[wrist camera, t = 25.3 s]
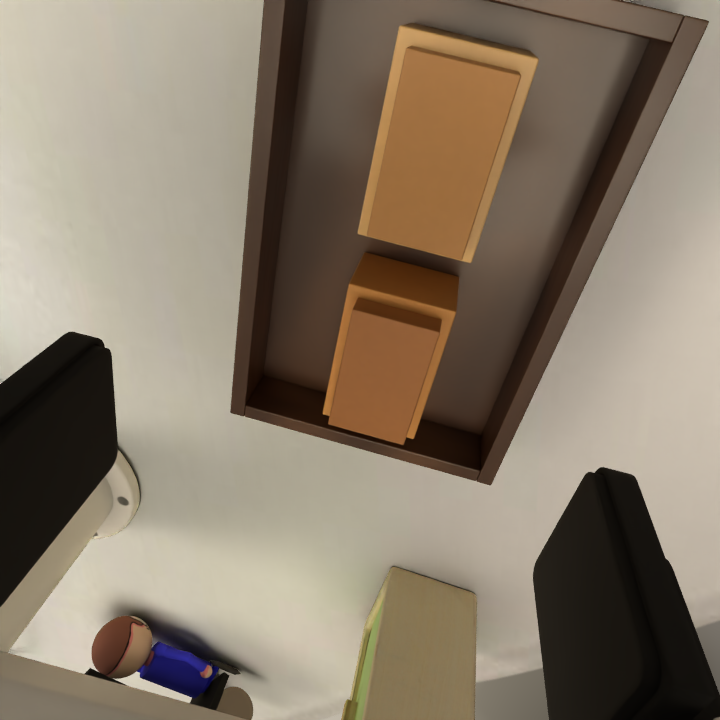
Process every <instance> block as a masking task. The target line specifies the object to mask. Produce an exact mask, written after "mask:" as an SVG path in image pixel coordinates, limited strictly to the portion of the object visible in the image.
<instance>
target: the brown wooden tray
mask: <svg viewBox="0 0 720 720" xmlns="http://www.w3.org/2000/svg"><path fill="white" fill-rule="evenodd" d="M409 23H417V24H421V25H425V26H429V27H433V28H438V29H442V30H446V31H450V32H454V33H459V34H463V35H467V36H471V37H475V38H479V39H484V40H488V41H492V42H496V43H500V44H505V45H509V46H513V47H517V48H521V49H526V50H530V51H531V52H532V53H533V54H534V55H535V56H536V57H538V58H539V62H538V65H537V68H536V71H535V74H534V77H533V80H532V83H531V86H530V89H529V92H528V95H527V98H526V101H525V104H524V107H523V110H522V113H521V116H520V119H519V122H518V125H517V128H516V131H515V134H514V137H513V140H512V143H511V146H510V149H509V152H508V155H507V158H506V161H505V164H504V167H503V170H502V173H501V176H500V179H499V182H498V185H497V188H496V191H495V194H494V197H493V200H492V203H491V206H490V209H489V212H488V215H487V218H486V221H485V224H484V227H483V230H482V233H481V236H480V239H479V242H478V245H477V248H476V251H475V254H474V257H473V260H472V262H471V263H468V262H464V261H460V260H456V259H452V258H448V257H445V256H441V255H437V254H433V253H429V252H425V251H421V250H418V249H414V248H410V247H406V246H402V245H398V244H394V243H391V242H387V241H383V240H379V239H375V238H371V237H367V236H364V235H360V234H358V228H359V223H360V218H361V213H362V208H363V203H364V198H365V193H366V189H367V184H368V179H369V174H370V169H371V164H372V159H373V154H374V149H375V144H376V139H377V134H378V129H379V124H380V119H381V114H382V109H383V104H384V99H385V94H386V89H387V84H388V79H389V74H390V69H391V64H392V59H393V54H394V49H395V44H396V40H397V35H398V30H399V26H400V25H405V24H409ZM708 23H709V21H707V20H703V19H698V18H694V17H690V16H684V15H681V14H677V13H673V12H668V11H664V10H660V9H656V8H651V7H647V6H643V5H638V4H634V3H630V2H626V1H621V0H264V8H263V20H262V32H261V45H260V57H259V69H258V81H257V94H256V106H255V118H254V130H253V142H252V155H251V167H250V179H249V191H248V204H247V216H246V228H245V240H244V253H243V265H242V277H241V289H240V301H239V314H238V326H237V338H236V350H235V363H234V375H233V387H232V399H231V411H230V412H231V413H233V414H237V415H240V416H244V415H245V417H248V418H252V419H256V420H259V421H263V422H266V423H270V424H273V425H277V426H281V427H284V428H288V429H291V430H295V431H298V432H302V433H306V434H309V435H313V436H316V437H320V438H324V439H327V440H331V441H334V442H338V443H341V444H345V445H349V446H352V447H356V448H359V449H363V450H366V451H370V452H374V453H377V454H381V455H384V456H388V457H392V458H395V459H399V460H402V461H406V462H409V463H413V464H417V465H420V466H424V467H427V468H431V469H434V470H438V471H442V472H445V473H449V474H452V475H456V476H460V477H463V478H467V479H470V480H474V481H476V480H477V482H480V483H484V484H487V485H491V484H492V482H493V480H494V477H495V475H496V473H497V471H498V469H499V467H500V465H501V463H502V460H503V458H504V456H505V454H506V452H507V450H508V448H509V446H510V444H511V441H512V439H513V437H514V435H515V433H516V431H517V429H518V427H519V424H520V422H521V420H522V418H523V416H524V414H525V412H526V410H527V407H528V405H529V403H530V401H531V399H532V397H533V395H534V393H535V390H536V388H537V386H538V384H539V382H540V380H541V378H542V376H543V373H544V371H545V369H546V367H547V365H548V363H549V361H550V359H551V356H552V354H553V352H554V350H555V348H556V346H557V344H558V342H559V340H560V337H561V335H562V333H563V331H564V329H565V327H566V325H567V323H568V320H569V318H570V316H571V314H572V312H573V310H574V308H575V306H576V303H577V301H578V299H579V297H580V295H581V293H582V291H583V289H584V286H585V284H586V282H587V280H588V278H589V276H590V274H591V272H592V269H593V267H594V265H595V263H596V261H597V259H598V257H599V255H600V252H601V250H602V248H603V246H604V244H605V242H606V240H607V238H608V235H609V233H610V231H611V229H612V227H613V225H614V223H615V221H616V219H617V216H618V214H619V212H620V210H621V208H622V206H623V204H624V202H625V199H626V197H627V195H628V193H629V191H630V189H631V187H632V185H633V182H634V180H635V178H636V176H637V174H638V172H639V170H640V168H641V165H642V163H643V161H644V159H645V157H646V155H647V153H648V151H649V148H650V146H651V144H652V142H653V140H654V138H655V136H656V134H657V131H658V129H659V127H660V125H661V123H662V121H663V119H664V117H665V115H666V112H667V110H668V108H669V106H670V104H671V102H672V100H673V98H674V95H675V93H676V91H677V89H678V87H679V85H680V83H681V81H682V78H683V76H684V74H685V72H686V70H687V68H688V66H689V64H690V61H691V59H692V57H693V55H694V53H695V51H696V49H697V47H698V44H699V42H700V40H701V38H702V36H703V34H704V32H705V30H706V27H707V25H708ZM365 252H366V253H370V254H374V255H377V256H381V257H385V258H389V259H393V260H396V261H400V262H404V263H408V264H412V265H416V266H419V267H423V268H427V269H431V270H435V271H439V272H442V273H446V274H450V275H454V276H458V277H459V289H458V300H457V311H456V315H455V318H454V321H453V324H452V327H451V330H450V333H449V336H448V339H447V342H446V345H445V348H444V351H443V354H442V357H441V360H440V363H439V366H438V369H437V372H436V375H435V378H434V381H433V384H432V387H431V390H430V393H429V396H428V399H427V402H426V405H425V408H424V411H423V414H422V417H421V420H420V423H419V425H418V428H417V431H416V434H415V437H414V439H411V438H407V437H406V440H405V443H404V445H401V444H397V443H394V442H390V441H387V440H383V439H379V438H376V437H372V436H369V435H365V434H361V433H358V432H354V431H351V430H347V429H343V428H340V427H336V426H333V425H329V424H328V421H329V416H328V415H324V414H323V408H324V403H325V398H326V393H327V388H328V384H329V379H330V374H331V369H332V364H333V359H334V354H335V349H336V344H337V339H338V334H339V330H340V325H341V320H342V315H343V310H344V305H345V300H346V295H347V290H348V285H349V283H350V281H351V279H352V277H353V275H354V272H355V270H356V268H357V266H358V264H359V262H360V260H361V258H362V256H363V254H364V253H365Z"/></svg>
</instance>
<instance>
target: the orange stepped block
mask: <svg viewBox="0 0 720 720" xmlns="http://www.w3.org/2000/svg"><path fill="white" fill-rule="evenodd" d="M458 289H459V277H458V276H454V275H450V274H446V273H442V272H439V271H435V270H431V269H427V268H423V267H419V266H416V265H412V264H408V263H404V262H400V261H396V260H393V259H389V258H385V257H381V256H377V255H374V254H370V253H366V252H365V253H364V254H363V256H362V258H361V260H360V262H359V264H358V266H357V268H356V270H355V272H354V275H353V277H352V279H351V281H350V283H349V285H348V290H347V295H346V300H345V305H344V310H343V315H342V320H341V325H340V330H339V334H338V339H337V344H336V349H335V354H334V359H333V364H332V369H331V374H330V379H329V384H328V388H327V393H326V398H325V403H324V408H323V414H324V415H328V416H329V421H328V424H329V425H333V426H336V427H340V428H343V429H347V430H351V431H354V432H358V433H361V434H365V435H369V436H372V437H376V438H379V439H383V440H387V441H390V442H394V443H397V444H401V445H404V443H405V440H406V437H407V438H411V439H414V437H415V434H416V431H417V428H418V425H419V423H420V420H421V417H422V414H423V411H424V408H425V405H426V402H427V399H428V396H429V393H430V390H431V387H432V384H433V381H434V378H435V375H436V372H437V369H438V366H439V363H440V360H441V357H442V354H443V351H444V348H445V345H446V342H447V339H448V336H449V333H450V330H451V327H452V324H453V321H454V318H455V315H456V311H457V300H458Z"/></svg>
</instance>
